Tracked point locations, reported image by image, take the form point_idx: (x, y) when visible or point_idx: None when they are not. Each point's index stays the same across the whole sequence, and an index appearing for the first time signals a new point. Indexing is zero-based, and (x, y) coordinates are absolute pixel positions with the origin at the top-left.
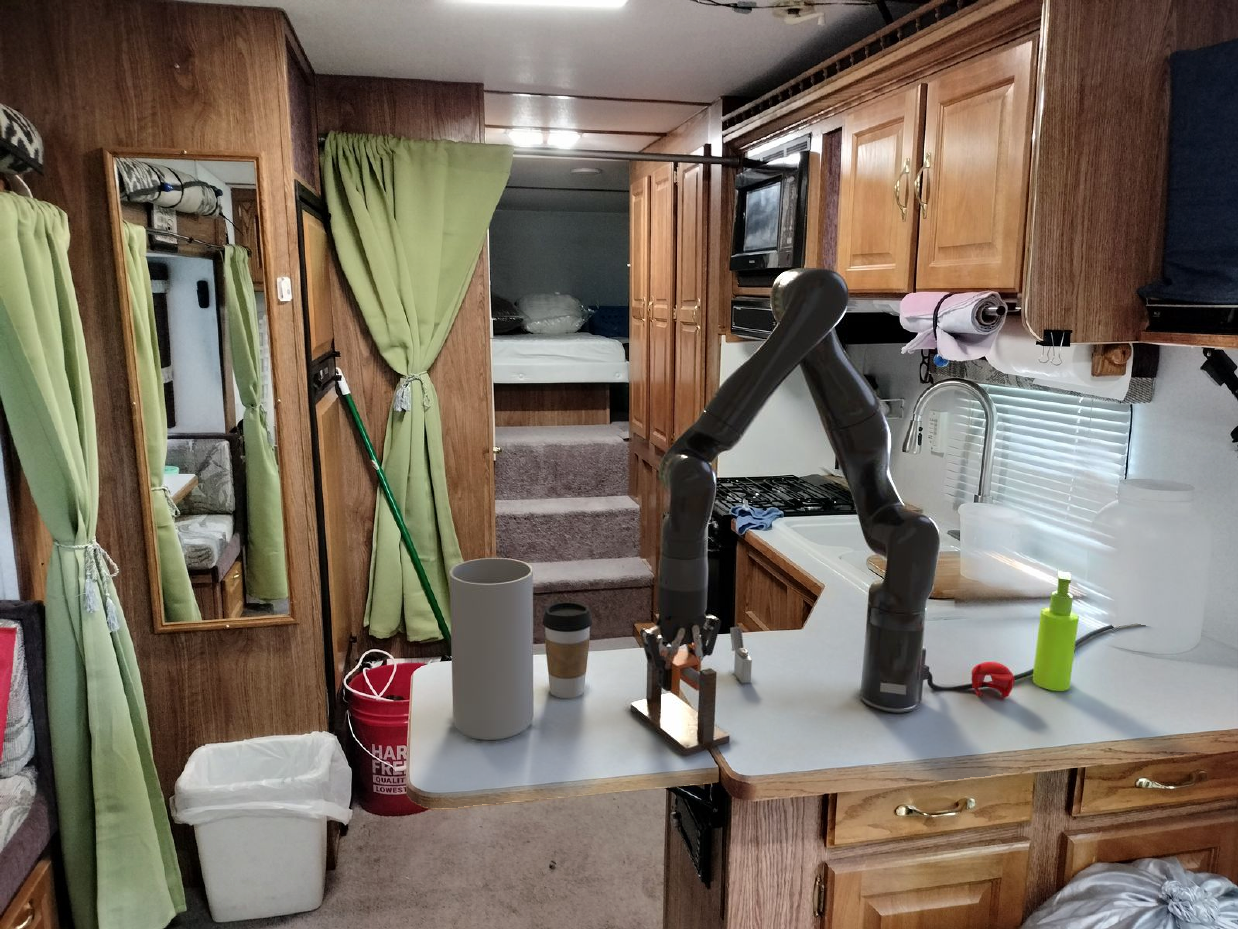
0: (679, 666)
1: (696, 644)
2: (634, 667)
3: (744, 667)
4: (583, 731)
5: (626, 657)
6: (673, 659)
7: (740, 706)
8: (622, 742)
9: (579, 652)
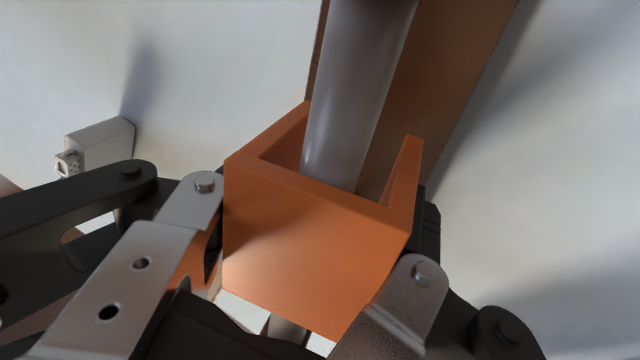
0: (392, 220)
1: (163, 263)
2: None
3: (98, 138)
4: (563, 274)
5: (254, 314)
6: (380, 287)
7: (188, 63)
8: (562, 179)
9: None
